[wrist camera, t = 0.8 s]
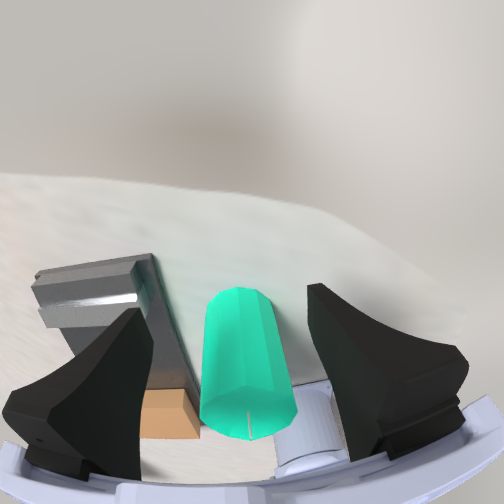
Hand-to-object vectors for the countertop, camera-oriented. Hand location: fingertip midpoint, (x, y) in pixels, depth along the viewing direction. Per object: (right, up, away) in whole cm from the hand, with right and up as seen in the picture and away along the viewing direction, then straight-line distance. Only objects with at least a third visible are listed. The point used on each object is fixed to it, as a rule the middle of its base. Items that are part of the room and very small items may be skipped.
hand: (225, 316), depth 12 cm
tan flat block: (-10, -15, +16) cm, 25 cm away
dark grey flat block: (-11, -9, +14) cm, 20 cm away
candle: (0, -3, +13) cm, 13 cm away
